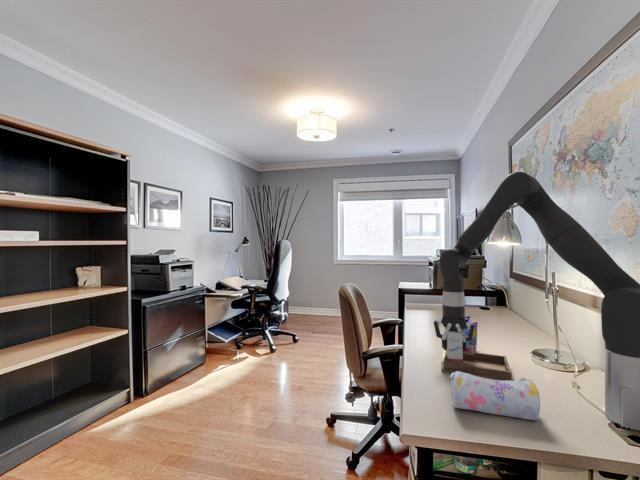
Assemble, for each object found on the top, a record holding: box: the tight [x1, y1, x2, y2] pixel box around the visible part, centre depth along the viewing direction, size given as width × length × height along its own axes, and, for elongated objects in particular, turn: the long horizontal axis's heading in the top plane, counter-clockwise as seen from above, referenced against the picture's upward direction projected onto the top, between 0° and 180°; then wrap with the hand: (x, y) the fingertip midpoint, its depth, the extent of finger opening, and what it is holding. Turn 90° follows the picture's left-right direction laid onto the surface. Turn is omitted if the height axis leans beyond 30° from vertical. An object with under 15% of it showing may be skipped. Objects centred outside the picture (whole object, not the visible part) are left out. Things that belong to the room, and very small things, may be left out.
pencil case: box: [449, 371, 541, 421], centre depth 86 cm, size 21×9×10 cm, turn 74°
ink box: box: [444, 327, 463, 363], centre depth 118 cm, size 9×5×12 cm, turn 166°
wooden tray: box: [440, 349, 512, 381], centre depth 116 cm, size 16×21×3 cm
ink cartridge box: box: [462, 315, 478, 353], centre depth 134 cm, size 10×6×14 cm, turn 117°
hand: (454, 350), depth 118 cm, fingers closed on ink box, 5 cm apart
